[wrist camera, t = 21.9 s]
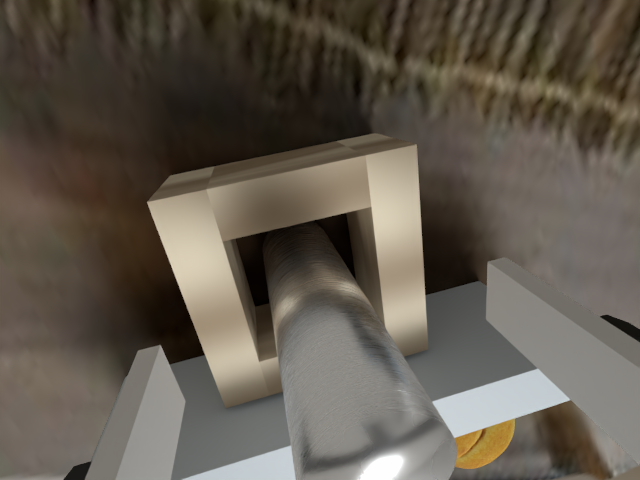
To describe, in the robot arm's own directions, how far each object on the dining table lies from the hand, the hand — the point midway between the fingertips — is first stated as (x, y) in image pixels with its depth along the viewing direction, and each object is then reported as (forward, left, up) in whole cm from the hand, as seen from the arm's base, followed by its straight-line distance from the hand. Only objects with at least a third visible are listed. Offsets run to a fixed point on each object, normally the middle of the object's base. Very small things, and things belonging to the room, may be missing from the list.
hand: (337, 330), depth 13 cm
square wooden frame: (0, 0, -9) cm, 9 cm away
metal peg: (0, 0, -9) cm, 9 cm away
